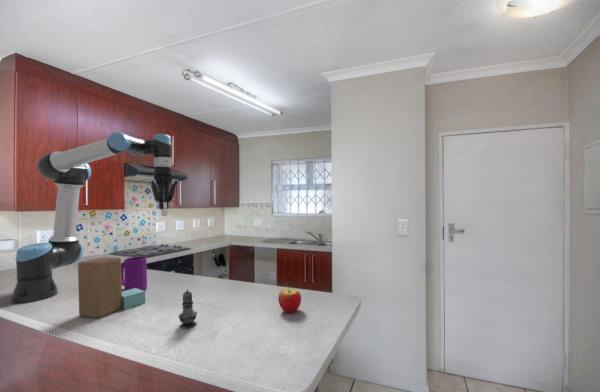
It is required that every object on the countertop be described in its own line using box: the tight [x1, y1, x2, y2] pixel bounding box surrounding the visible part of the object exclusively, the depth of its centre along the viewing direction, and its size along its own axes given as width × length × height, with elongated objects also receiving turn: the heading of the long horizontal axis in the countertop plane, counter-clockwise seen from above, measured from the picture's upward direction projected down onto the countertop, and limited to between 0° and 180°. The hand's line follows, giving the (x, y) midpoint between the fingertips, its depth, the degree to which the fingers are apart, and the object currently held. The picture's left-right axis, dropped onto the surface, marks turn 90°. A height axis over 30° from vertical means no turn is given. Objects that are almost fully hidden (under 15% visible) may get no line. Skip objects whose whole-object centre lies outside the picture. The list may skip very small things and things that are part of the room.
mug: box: [121, 256, 148, 291], centre depth 134 cm, size 9×16×15 cm, turn 68°
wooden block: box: [77, 256, 123, 319], centre depth 107 cm, size 10×10×20 cm
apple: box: [278, 282, 302, 313], centre depth 104 cm, size 8×8×10 cm
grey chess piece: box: [177, 289, 198, 330], centre depth 94 cm, size 6×6×12 cm
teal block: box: [121, 288, 146, 310], centre depth 115 cm, size 8×8×5 cm
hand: (164, 215), depth 136 cm, fingers closed
